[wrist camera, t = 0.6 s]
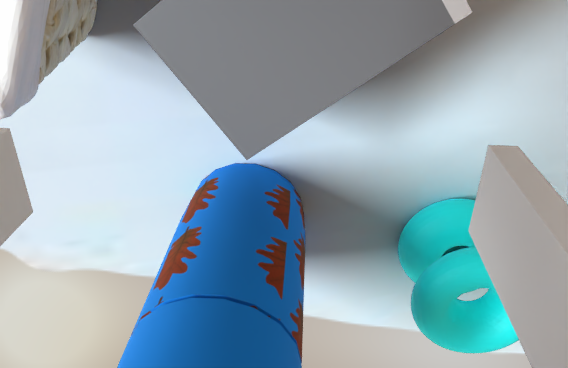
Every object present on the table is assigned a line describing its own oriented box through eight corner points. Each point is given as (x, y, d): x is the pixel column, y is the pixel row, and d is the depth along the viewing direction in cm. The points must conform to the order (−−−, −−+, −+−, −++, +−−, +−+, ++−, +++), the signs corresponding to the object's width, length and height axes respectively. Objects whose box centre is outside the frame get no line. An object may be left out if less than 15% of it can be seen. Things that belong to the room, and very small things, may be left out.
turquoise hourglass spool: (420, 367, 40) (408, 273, 36) (401, 285, 49) (390, 201, 44) (548, 354, 39) (554, 254, 34) (505, 272, 47) (505, 184, 43)
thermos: (195, 257, 48) (99, 540, 27) (183, 160, 43) (50, 416, 22) (305, 259, 48) (297, 552, 26) (306, 162, 43) (297, 427, 21)
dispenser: (263, 98, 40) (246, 160, 30) (181, -7, 36) (132, 24, 27) (428, -17, 35) (472, 12, 25) (353, -153, 31) (371, -180, 22)
